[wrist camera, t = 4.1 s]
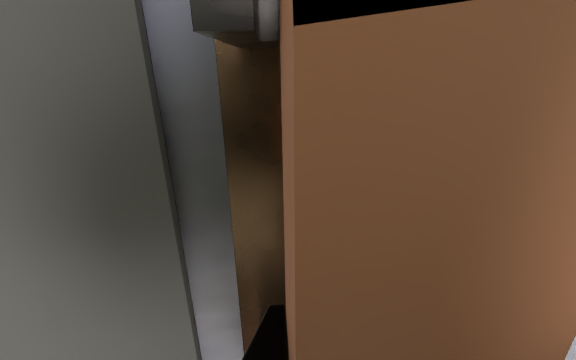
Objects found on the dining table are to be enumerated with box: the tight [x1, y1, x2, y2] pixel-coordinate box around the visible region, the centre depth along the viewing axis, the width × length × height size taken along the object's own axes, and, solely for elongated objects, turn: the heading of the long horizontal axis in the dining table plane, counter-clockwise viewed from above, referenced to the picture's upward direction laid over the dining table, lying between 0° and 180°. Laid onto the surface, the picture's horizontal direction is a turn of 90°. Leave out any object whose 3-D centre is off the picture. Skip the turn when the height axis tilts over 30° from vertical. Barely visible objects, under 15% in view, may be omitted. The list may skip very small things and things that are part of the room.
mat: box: [0, 0, 201, 360], centre depth 13 cm, size 20×10×1 cm, turn 1°
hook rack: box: [190, 0, 286, 355], centre depth 10 cm, size 19×7×8 cm, turn 1°
